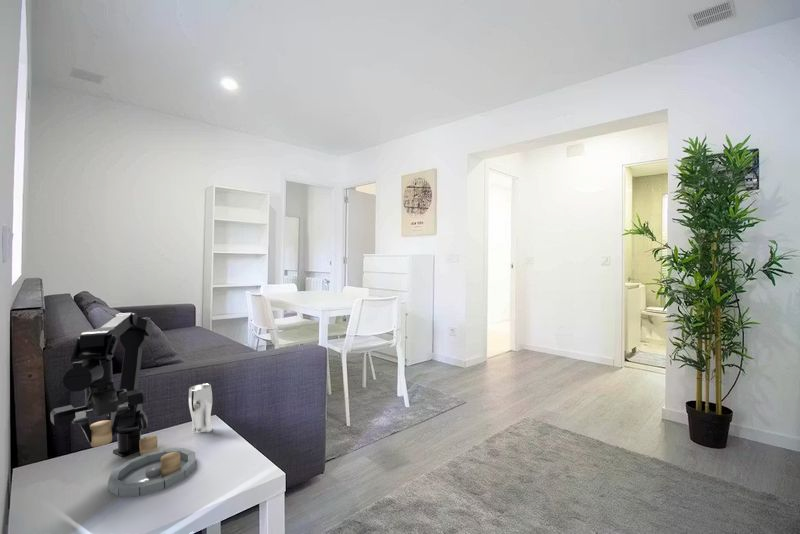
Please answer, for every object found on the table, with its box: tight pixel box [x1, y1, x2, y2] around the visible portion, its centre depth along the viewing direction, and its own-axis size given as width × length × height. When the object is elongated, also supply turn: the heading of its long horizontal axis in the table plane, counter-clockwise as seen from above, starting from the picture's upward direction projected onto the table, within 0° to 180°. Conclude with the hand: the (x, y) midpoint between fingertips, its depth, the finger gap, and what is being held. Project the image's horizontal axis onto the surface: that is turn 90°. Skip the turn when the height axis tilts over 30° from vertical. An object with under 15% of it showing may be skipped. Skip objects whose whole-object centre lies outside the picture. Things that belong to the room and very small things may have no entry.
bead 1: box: [89, 419, 113, 448], centre depth 100 cm, size 4×4×5 cm
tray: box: [107, 447, 197, 497], centre depth 101 cm, size 19×19×3 cm
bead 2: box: [139, 434, 159, 456], centre depth 112 cm, size 4×4×5 cm
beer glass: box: [188, 383, 213, 434], centre depth 127 cm, size 7×7×15 cm
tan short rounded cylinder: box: [161, 452, 181, 478], centre depth 100 cm, size 4×4×5 cm
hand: (101, 438), depth 100 cm, fingers closed on bead 1, 4 cm apart
